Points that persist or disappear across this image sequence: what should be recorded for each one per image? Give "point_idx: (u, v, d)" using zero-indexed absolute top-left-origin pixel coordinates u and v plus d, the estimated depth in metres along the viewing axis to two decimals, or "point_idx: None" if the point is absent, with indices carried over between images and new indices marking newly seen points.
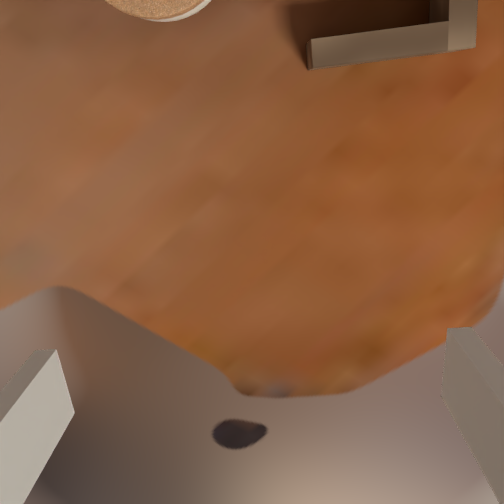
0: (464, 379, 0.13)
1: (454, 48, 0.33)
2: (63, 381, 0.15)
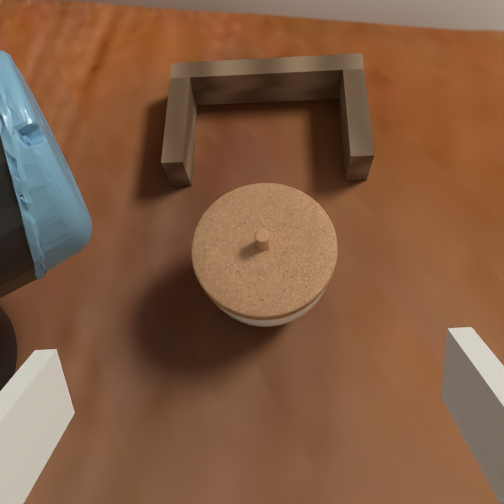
0: (464, 379, 0.13)
1: (362, 65, 0.43)
2: (63, 381, 0.15)
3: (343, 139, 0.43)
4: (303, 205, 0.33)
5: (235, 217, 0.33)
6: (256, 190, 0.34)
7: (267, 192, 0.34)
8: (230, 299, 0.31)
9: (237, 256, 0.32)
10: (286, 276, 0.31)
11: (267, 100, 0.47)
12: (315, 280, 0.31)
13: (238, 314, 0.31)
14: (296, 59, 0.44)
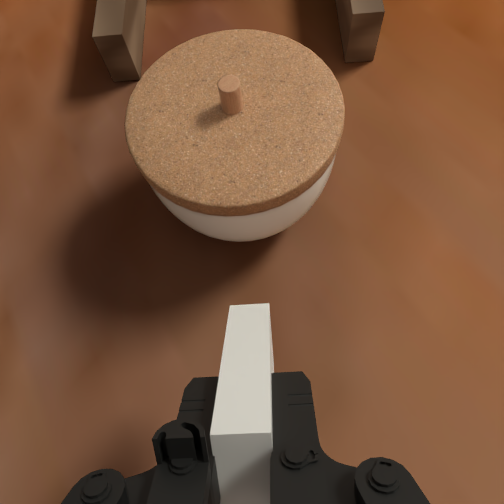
0: None
1: None
2: None
3: (340, 10, 0.33)
4: (290, 53, 0.22)
5: (190, 74, 0.22)
6: (220, 38, 0.23)
7: (237, 40, 0.23)
8: (184, 184, 0.20)
9: (193, 124, 0.21)
10: (268, 147, 0.20)
11: None
12: (313, 150, 0.20)
13: (197, 206, 0.20)
14: None
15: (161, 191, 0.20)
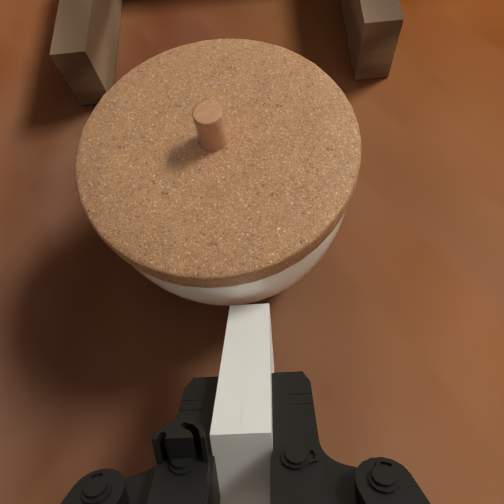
0: None
1: None
2: None
3: (347, 18, 0.28)
4: (288, 68, 0.17)
5: (160, 97, 0.17)
6: (199, 51, 0.18)
7: (220, 52, 0.18)
8: (149, 248, 0.15)
9: (163, 165, 0.16)
10: (261, 195, 0.15)
11: None
12: (321, 198, 0.15)
13: (167, 277, 0.15)
14: None
15: (120, 255, 0.15)
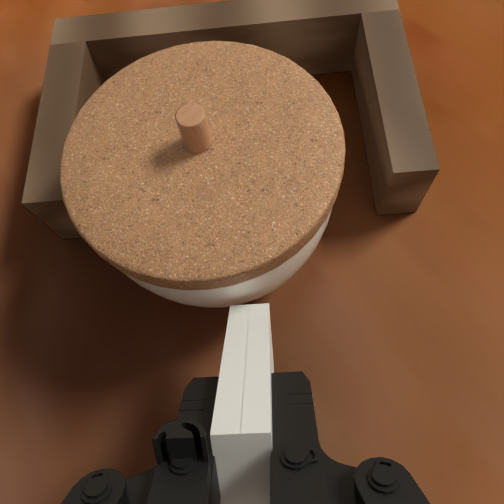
0: None
1: (395, 3, 0.24)
2: None
3: (368, 139, 0.24)
4: (263, 65, 0.17)
5: (138, 105, 0.17)
6: (173, 56, 0.18)
7: (194, 55, 0.18)
8: (146, 255, 0.15)
9: (150, 172, 0.16)
10: (252, 192, 0.15)
11: None
12: (312, 189, 0.15)
13: (167, 283, 0.15)
14: (276, 0, 0.24)
15: (117, 267, 0.15)
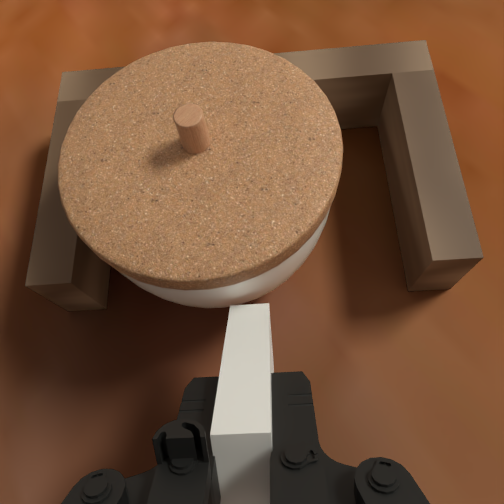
0: None
1: (429, 62, 0.22)
2: None
3: (397, 207, 0.22)
4: (260, 65, 0.18)
5: (136, 107, 0.17)
6: (169, 57, 0.18)
7: (190, 57, 0.18)
8: (146, 256, 0.15)
9: (149, 172, 0.16)
10: (252, 191, 0.15)
11: None
12: (311, 187, 0.15)
13: (168, 283, 0.15)
14: (300, 56, 0.23)
15: (117, 268, 0.15)
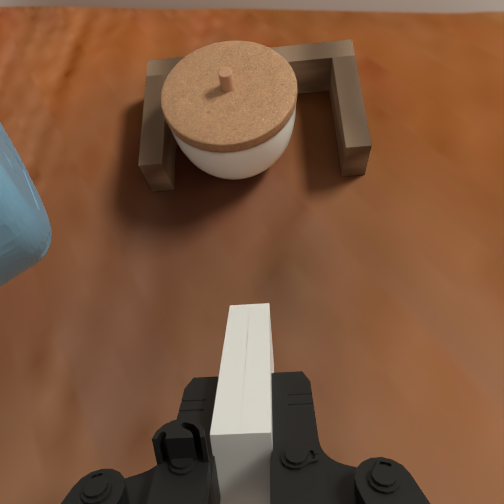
0: None
1: (352, 51, 0.40)
2: None
3: (337, 132, 0.40)
4: (258, 51, 0.35)
5: (197, 72, 0.35)
6: (212, 48, 0.36)
7: (223, 48, 0.36)
8: (205, 135, 0.32)
9: (205, 100, 0.34)
10: (253, 107, 0.33)
11: None
12: (281, 105, 0.33)
13: (215, 147, 0.32)
14: (281, 49, 0.41)
15: (192, 142, 0.33)
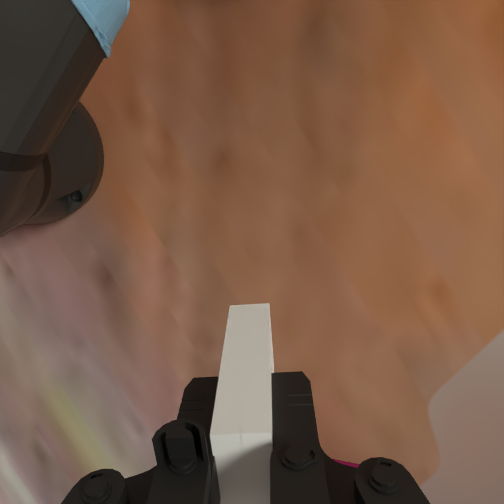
0: None
1: None
2: None
3: None
4: None
5: None
6: None
7: None
8: None
9: None
10: None
11: None
12: None
13: None
14: None
15: None
